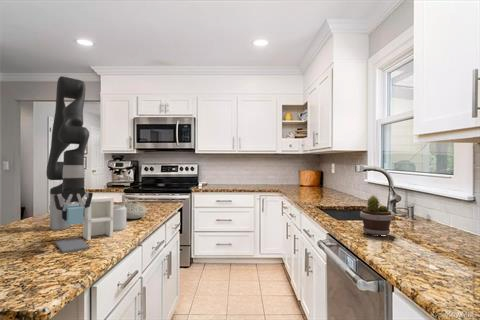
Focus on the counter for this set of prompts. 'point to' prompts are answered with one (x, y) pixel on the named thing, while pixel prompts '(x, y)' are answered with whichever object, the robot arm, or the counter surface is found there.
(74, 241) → the mat
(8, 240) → the counter surface
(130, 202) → the decorative shell
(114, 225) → the can
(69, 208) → the block
